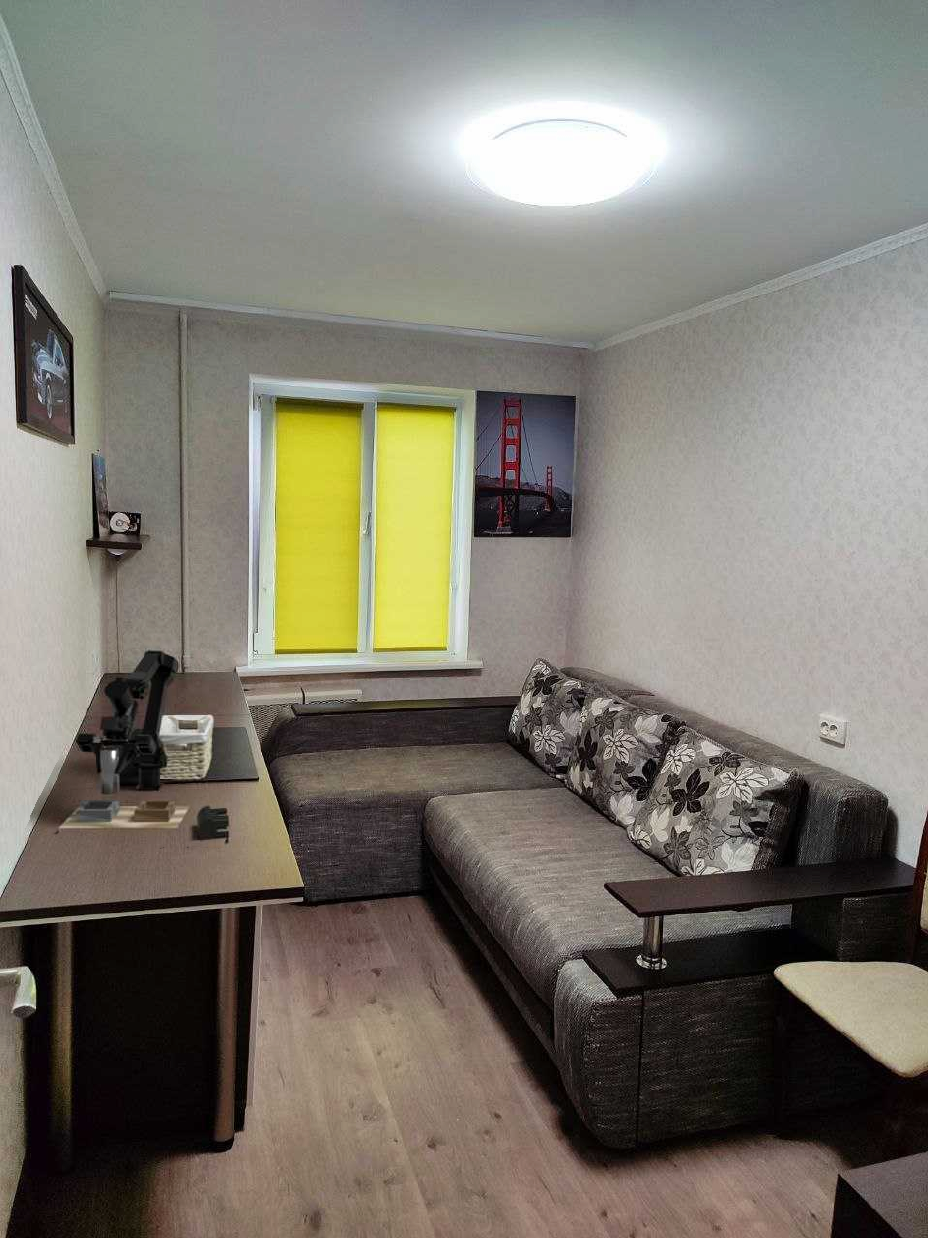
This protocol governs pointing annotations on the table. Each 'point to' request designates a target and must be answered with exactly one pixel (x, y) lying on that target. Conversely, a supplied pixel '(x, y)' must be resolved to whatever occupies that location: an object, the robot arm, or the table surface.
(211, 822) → the end cap
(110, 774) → the grey long rounded piece
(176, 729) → the storage basket
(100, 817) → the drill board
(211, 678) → the table surface
